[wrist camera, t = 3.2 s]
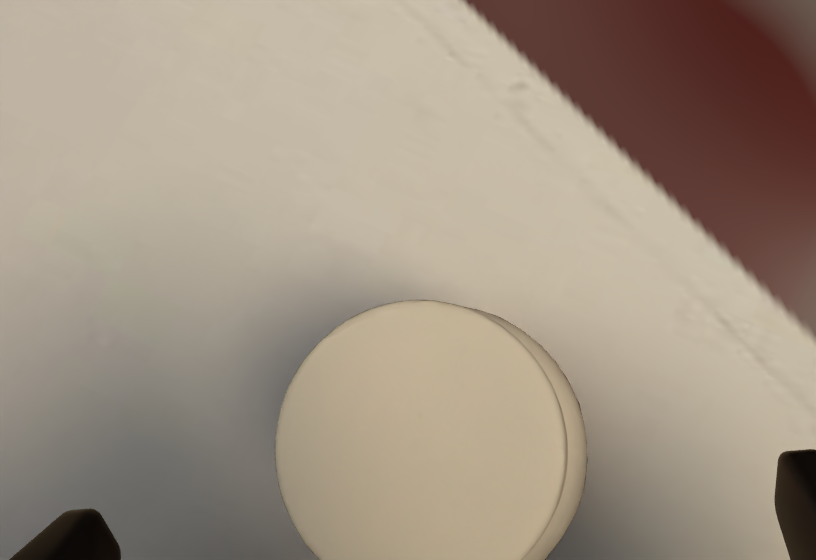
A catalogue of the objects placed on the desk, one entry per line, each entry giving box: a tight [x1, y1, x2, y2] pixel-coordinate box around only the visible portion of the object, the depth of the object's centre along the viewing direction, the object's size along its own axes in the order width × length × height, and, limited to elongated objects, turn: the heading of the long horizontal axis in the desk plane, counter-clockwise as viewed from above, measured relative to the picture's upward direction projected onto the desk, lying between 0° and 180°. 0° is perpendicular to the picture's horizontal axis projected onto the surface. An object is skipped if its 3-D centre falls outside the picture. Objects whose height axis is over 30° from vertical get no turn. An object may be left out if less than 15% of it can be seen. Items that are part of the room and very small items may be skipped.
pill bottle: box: [275, 300, 588, 560], centre depth 14 cm, size 5×5×8 cm
